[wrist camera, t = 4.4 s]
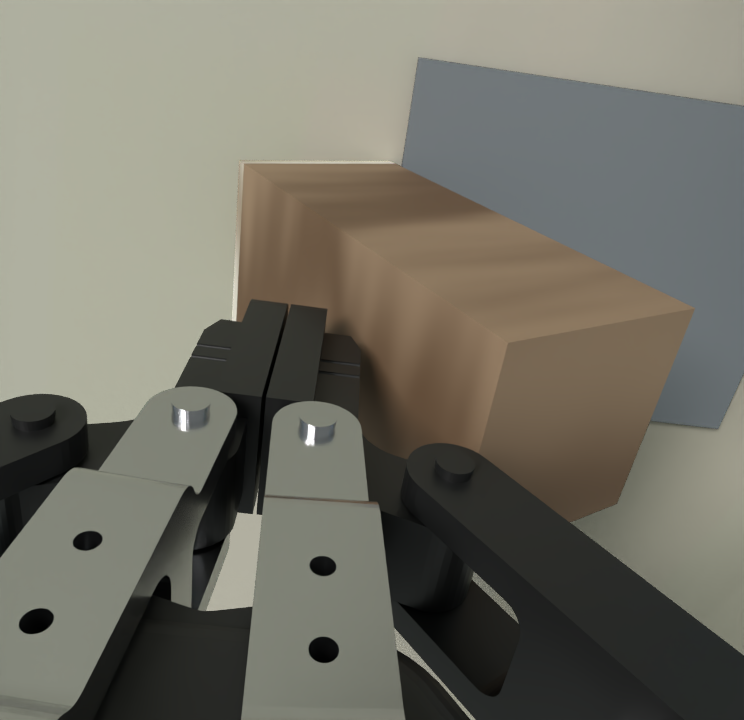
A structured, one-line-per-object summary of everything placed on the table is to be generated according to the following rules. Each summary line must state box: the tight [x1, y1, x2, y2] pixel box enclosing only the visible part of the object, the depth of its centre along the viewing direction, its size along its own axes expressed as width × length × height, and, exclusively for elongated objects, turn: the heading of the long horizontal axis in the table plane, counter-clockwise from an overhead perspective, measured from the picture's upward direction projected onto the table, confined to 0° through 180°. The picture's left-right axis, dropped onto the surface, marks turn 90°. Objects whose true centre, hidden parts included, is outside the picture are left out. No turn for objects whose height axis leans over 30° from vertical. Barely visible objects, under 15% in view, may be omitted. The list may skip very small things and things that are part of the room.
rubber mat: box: [402, 57, 744, 429], centre depth 20 cm, size 10×12×1 cm
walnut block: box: [232, 160, 695, 522], centre depth 15 cm, size 4×4×10 cm
